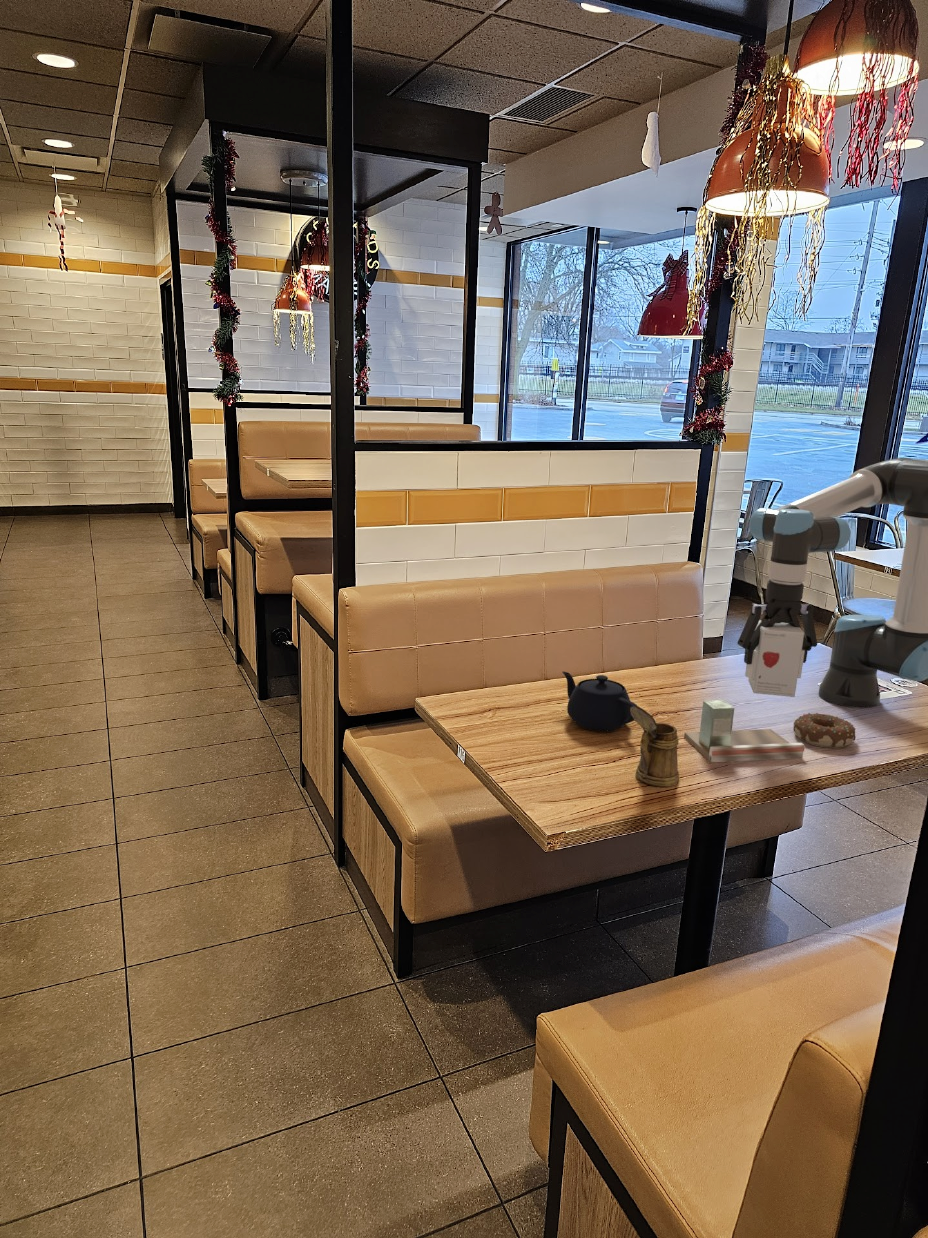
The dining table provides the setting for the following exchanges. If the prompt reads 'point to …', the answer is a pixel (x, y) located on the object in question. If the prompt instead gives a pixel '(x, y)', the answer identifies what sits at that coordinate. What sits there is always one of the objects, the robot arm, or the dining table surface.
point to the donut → (824, 730)
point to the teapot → (598, 703)
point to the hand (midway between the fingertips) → (772, 677)
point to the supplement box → (777, 660)
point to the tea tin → (716, 723)
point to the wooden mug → (656, 751)
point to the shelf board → (749, 746)
